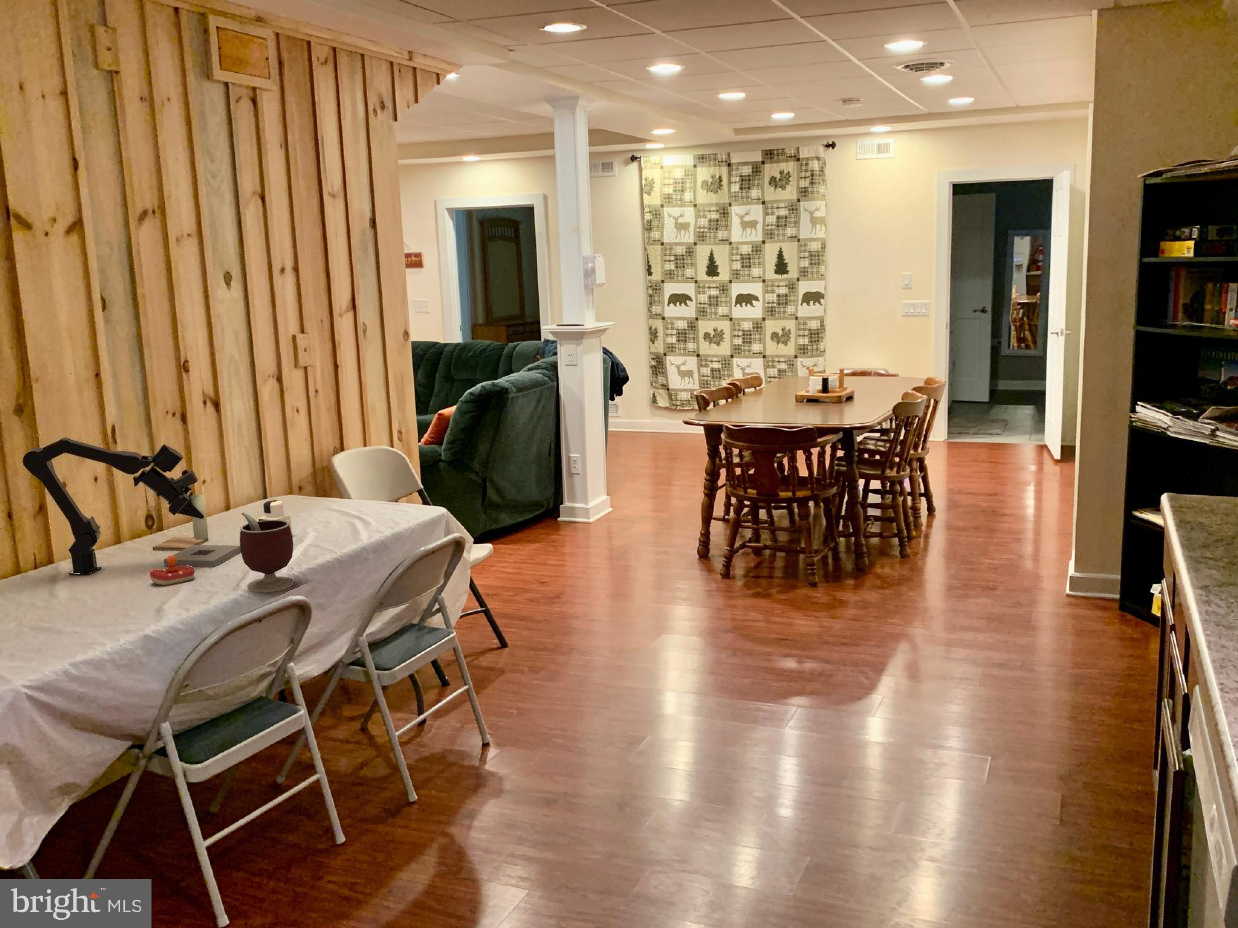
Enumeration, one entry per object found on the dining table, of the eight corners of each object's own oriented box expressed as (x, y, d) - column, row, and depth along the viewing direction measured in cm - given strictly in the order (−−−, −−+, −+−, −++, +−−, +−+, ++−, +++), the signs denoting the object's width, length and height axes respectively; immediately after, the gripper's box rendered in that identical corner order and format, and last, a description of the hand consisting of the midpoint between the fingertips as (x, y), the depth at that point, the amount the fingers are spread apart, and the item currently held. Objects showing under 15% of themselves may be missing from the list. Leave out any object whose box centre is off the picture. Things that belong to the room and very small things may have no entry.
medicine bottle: (260, 539, 346) (256, 502, 343) (276, 533, 352) (273, 498, 349) (276, 541, 342) (272, 504, 340) (292, 535, 349) (289, 499, 346)
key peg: (203, 539, 321) (199, 497, 319) (191, 539, 322) (186, 497, 319) (211, 536, 325) (206, 494, 322) (198, 535, 326) (194, 494, 323)
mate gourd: (307, 581, 299) (301, 512, 295) (268, 596, 287) (261, 523, 283) (268, 574, 307) (262, 506, 303) (229, 588, 295) (221, 518, 291)
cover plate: (214, 567, 316) (213, 560, 315) (164, 566, 318) (163, 559, 318) (241, 551, 331) (240, 545, 331) (193, 550, 334) (193, 544, 333)
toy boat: (147, 582, 303) (144, 557, 301) (190, 574, 310) (187, 549, 308) (155, 589, 297) (152, 562, 296) (198, 580, 304) (195, 554, 303)
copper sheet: (187, 550, 334) (187, 547, 334) (152, 550, 336) (152, 547, 336) (208, 540, 346) (208, 537, 346) (174, 539, 348) (174, 536, 348)
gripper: (176, 469, 309) (220, 502, 314) (181, 457, 326) (223, 489, 332) (150, 498, 308) (195, 531, 314) (156, 485, 326) (198, 516, 331)
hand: (203, 516), depth 323 cm, fingers closed on key peg, 4 cm apart
